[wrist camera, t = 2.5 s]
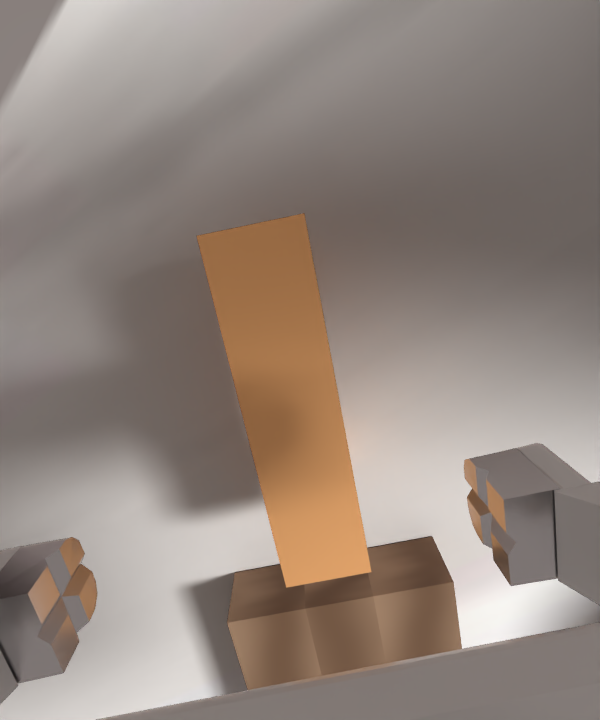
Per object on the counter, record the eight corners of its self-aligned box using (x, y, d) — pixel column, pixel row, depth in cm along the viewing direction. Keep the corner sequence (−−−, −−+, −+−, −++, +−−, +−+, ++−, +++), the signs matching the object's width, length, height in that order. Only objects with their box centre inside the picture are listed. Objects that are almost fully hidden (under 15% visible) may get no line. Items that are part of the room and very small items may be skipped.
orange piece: (299, 218, 18) (304, 213, 12) (349, 479, 21) (371, 572, 16) (225, 233, 18) (196, 235, 12) (286, 491, 21) (286, 587, 16)
